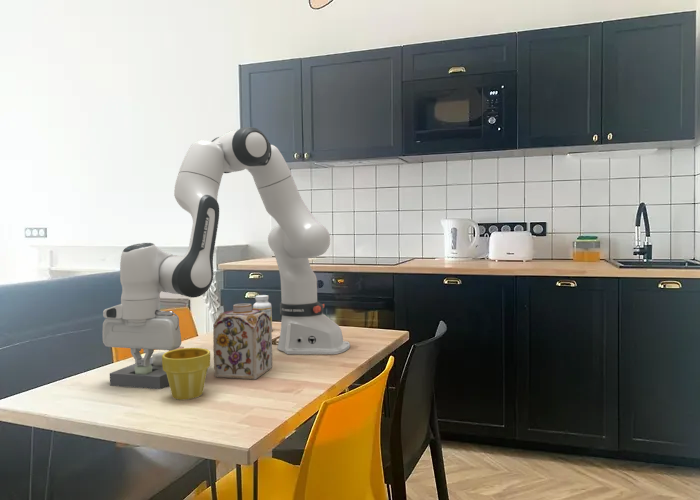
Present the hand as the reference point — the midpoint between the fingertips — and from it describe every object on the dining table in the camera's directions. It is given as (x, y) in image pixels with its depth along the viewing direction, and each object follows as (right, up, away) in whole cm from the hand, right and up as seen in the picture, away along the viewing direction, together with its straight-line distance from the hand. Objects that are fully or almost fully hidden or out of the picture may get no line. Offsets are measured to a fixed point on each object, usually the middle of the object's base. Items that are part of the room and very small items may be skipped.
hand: (142, 366), depth 133 cm
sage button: (0, -3, 0) cm, 3 cm away
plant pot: (+14, -5, -10) cm, 18 cm away
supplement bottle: (+19, -1, +63) cm, 66 cm away
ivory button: (+2, -1, +7) cm, 7 cm away
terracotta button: (+4, -1, +14) cm, 14 cm away
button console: (+2, -4, +7) cm, 8 cm away
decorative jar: (+23, -4, +8) cm, 25 cm away
